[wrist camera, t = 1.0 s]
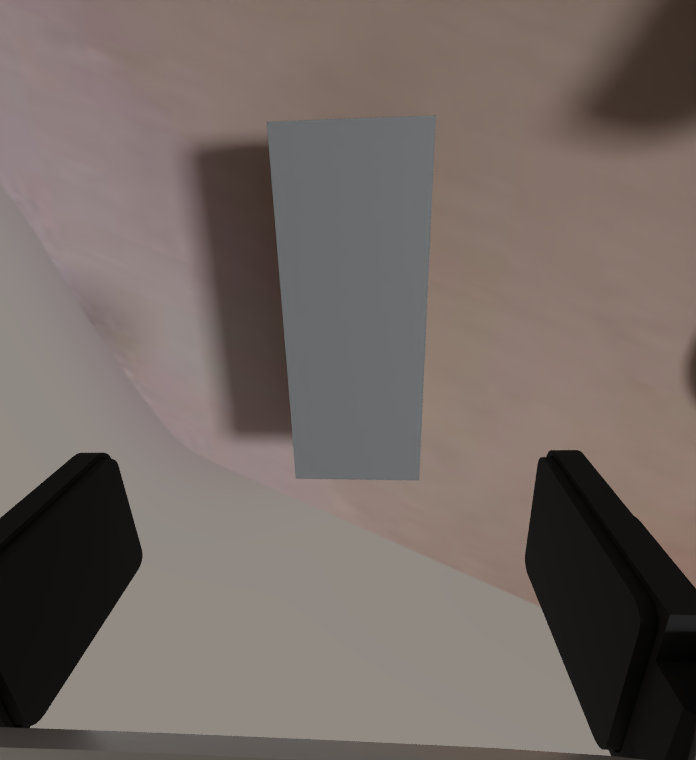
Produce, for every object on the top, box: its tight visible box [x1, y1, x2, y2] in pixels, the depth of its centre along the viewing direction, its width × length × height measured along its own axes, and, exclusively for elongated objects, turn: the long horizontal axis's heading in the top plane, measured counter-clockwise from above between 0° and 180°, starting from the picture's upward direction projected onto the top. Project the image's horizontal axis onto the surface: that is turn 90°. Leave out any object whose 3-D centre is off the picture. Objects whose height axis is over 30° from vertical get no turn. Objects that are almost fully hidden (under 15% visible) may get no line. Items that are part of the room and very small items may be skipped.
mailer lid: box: [267, 116, 436, 480], centre depth 25 cm, size 19×8×3 cm, turn 2°
